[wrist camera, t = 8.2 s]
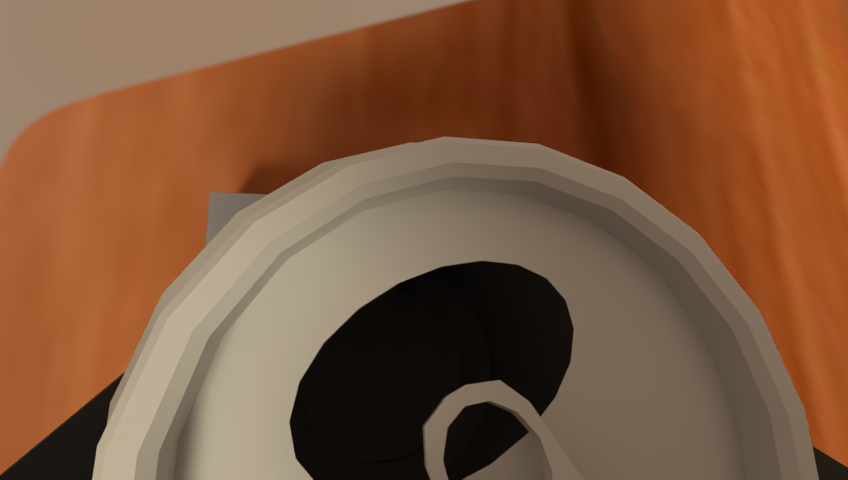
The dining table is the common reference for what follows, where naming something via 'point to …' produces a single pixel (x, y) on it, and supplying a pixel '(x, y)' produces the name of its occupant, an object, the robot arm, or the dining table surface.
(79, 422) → the robot arm
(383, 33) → the dining table surface
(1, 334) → the dining table surface
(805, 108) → the dining table surface
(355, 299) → the can
